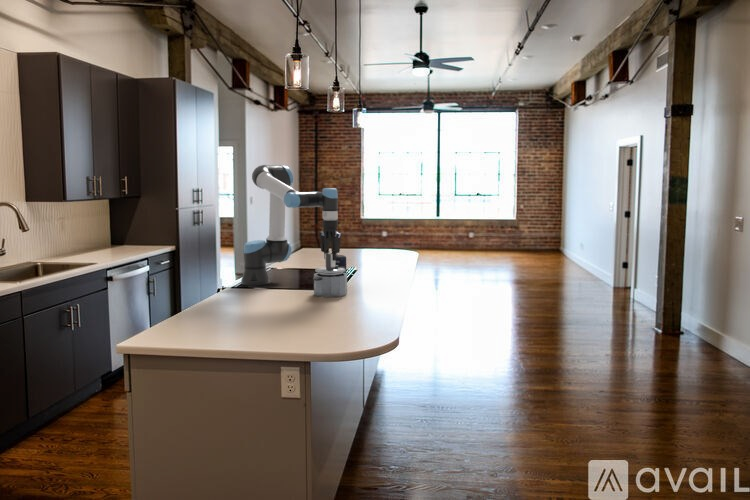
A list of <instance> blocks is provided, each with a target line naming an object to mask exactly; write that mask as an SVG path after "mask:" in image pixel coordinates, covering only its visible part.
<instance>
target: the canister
mask: <svg viewBox="0 0 750 500" xmlns="http://www.w3.org/2000/svg"><path fill="white" fill-rule="evenodd" d="M336 265H337V266H338V268H344V269H345V271H344V272H342V273H347V274H348V272H347V271H348V270H347V256H346V255H343V254H338V253H337V254H336V260H335V266H336Z"/></svg>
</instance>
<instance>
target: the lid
mask: <svg viewBox="0 0 750 500" xmlns="http://www.w3.org/2000/svg"><path fill="white" fill-rule="evenodd" d="M331 253H332V252H329V253H328V254H326V266H325V267H318V268H315V270H314V271H315V272H316V273H318V274H319V276H326V277H333V276H341V275H342V272H344V271H345V269H344V268H338V266H337V265H336V266H335V267H331Z"/></svg>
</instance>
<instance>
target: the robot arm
mask: <svg viewBox="0 0 750 500" xmlns="http://www.w3.org/2000/svg"><path fill="white" fill-rule="evenodd" d="M251 180H252V182H253V184H254V185H255V186H256V187H257V188H259V189H262V190H266V191H268V192H269V216H268V217H269V218H268V219H269V223H268V224H269V227H268V236H267V237H266V238H265V240H263V239H258V240H251V241H248V242H247V241H246V242H245V243H244V245H243V266H244V270H243V274H242V278H241V283H240V284H241V285H242V286H249V287H250V286H252V287H255V286H259V287H260V286H266V285H268V284H270V277H269V275H268V271H267V264H275V263H282V262H286V261H287V260H289V258H291V254H292V246H291V243H290V242H289V241H288V238H287V236H286V235H285V233H286V231H285V230H286V229H285V228H286V207H287V208H290V209H291V208H292V209H297V208H318V207H319V208H322V209H321V211H322V219H323V220H322V228H323V229H322V231H319V232H318V234H319V240H320V241H319V242H320V252H322V253H324V255H323V256H324V257H323V258H324V263H325V264H324V266H325V267H326V254H328V253H331V267H335V260H336V255H337V254H338V253H340V251H341V238H342V233H341V232H340V233H339V232H338V229H337V228H338V226H339V221H338V216H339V215H338V214H339V213H338V209H339V205H338V204H339V202H338V200H339V199H338V198H339V196H338V189H337V188H332V187H330V188H329V187H326V188H325V187H324V188H322V190H321V191H298V190H296V189H295V188H293V187H291V186H292V185H293V183H294V174H293V171H292V170H291V168H290V167H289V166H287V165H282V164H261V165H258V166H257V167H256V168H254V170H253V172H252V174H251ZM330 248H331V252H330Z"/></svg>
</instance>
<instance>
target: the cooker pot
mask: <svg viewBox="0 0 750 500" xmlns="http://www.w3.org/2000/svg"><path fill="white" fill-rule="evenodd" d="M312 281H313V295H315V296H316V297H321V298H338V297H344V296H346V295H348V272H347V273H342V275H341V276H333V277H326V276H319V274H318V272H316V273H314V274H313V278H312Z"/></svg>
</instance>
